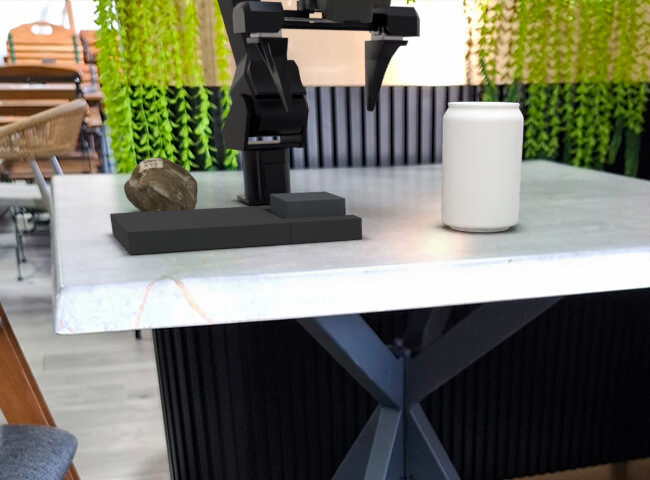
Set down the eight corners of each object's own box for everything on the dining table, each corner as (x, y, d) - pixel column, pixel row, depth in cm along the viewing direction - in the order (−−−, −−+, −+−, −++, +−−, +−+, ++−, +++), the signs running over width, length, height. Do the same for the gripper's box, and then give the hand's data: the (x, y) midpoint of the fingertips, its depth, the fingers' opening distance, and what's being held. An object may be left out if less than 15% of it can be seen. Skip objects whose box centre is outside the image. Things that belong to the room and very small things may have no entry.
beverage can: (460, 235, 90) (463, 104, 84) (429, 223, 96) (430, 101, 91) (531, 231, 92) (539, 104, 87) (496, 219, 99) (501, 101, 94)
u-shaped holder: (112, 234, 89) (109, 213, 88) (322, 221, 97) (321, 202, 96) (130, 255, 79) (127, 231, 78) (362, 239, 87) (362, 217, 87)
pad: (271, 229, 92) (269, 193, 91) (327, 225, 95) (325, 191, 93) (288, 238, 87) (286, 201, 86) (346, 234, 90) (345, 198, 88)
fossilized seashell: (123, 186, 104) (111, 213, 96) (147, 135, 102) (136, 158, 93) (184, 219, 107) (177, 248, 99) (208, 170, 105) (203, 196, 97)
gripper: (253, -74, 80) (264, 116, 86) (443, -61, 86) (439, 115, 93) (225, -61, 89) (238, 111, 96) (399, -50, 95) (399, 109, 102)
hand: (330, 111), depth 96 cm, fingers open, 9 cm apart
